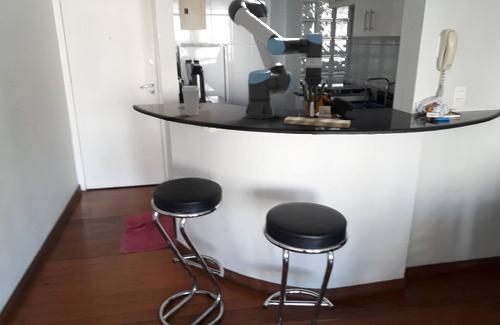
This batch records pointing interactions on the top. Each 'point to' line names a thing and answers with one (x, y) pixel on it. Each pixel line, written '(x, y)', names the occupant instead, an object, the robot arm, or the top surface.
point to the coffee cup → (191, 99)
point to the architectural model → (324, 112)
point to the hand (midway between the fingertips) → (312, 115)
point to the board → (317, 122)
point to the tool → (332, 105)
